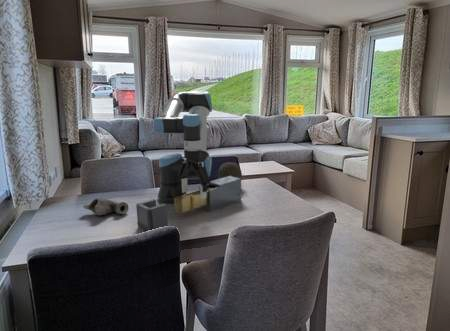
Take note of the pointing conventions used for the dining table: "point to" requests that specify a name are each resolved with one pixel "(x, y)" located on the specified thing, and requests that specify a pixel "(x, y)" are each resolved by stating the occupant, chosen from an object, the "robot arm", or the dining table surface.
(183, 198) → the bar
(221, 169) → the cantaloupe
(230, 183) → the sleeve
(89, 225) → the dining table surface
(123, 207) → the pipe
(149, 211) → the socket
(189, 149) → the robot arm
